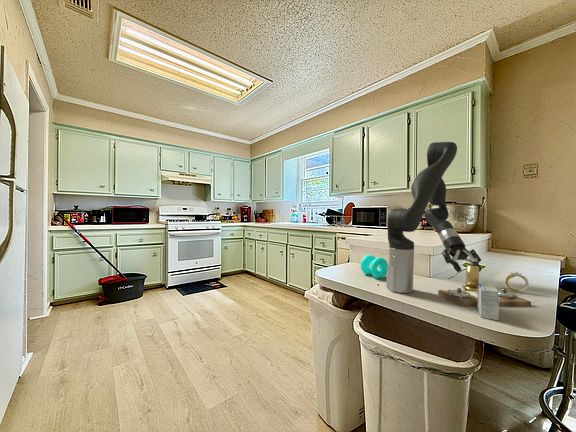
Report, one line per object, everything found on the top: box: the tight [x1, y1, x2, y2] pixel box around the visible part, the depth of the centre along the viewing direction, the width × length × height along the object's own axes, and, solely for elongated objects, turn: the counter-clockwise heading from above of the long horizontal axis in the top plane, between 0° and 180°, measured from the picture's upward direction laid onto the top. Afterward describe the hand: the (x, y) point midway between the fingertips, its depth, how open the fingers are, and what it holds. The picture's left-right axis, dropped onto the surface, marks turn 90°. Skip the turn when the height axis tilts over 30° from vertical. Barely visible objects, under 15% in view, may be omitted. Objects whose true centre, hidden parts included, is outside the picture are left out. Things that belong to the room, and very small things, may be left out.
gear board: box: [437, 289, 532, 307], centre depth 92 cm, size 25×12×2 cm, turn 92°
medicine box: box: [477, 283, 500, 321], centre depth 78 cm, size 8×4×9 cm, turn 148°
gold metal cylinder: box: [462, 264, 480, 290], centre depth 103 cm, size 7×6×10 cm
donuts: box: [360, 254, 389, 279], centre depth 123 cm, size 10×10×10 cm
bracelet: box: [504, 271, 530, 293], centre depth 101 cm, size 7×3×8 cm, turn 56°
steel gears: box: [448, 287, 519, 299], centre depth 92 cm, size 24×7×3 cm, turn 92°
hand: (469, 271), depth 104 cm, fingers open, 8 cm apart
